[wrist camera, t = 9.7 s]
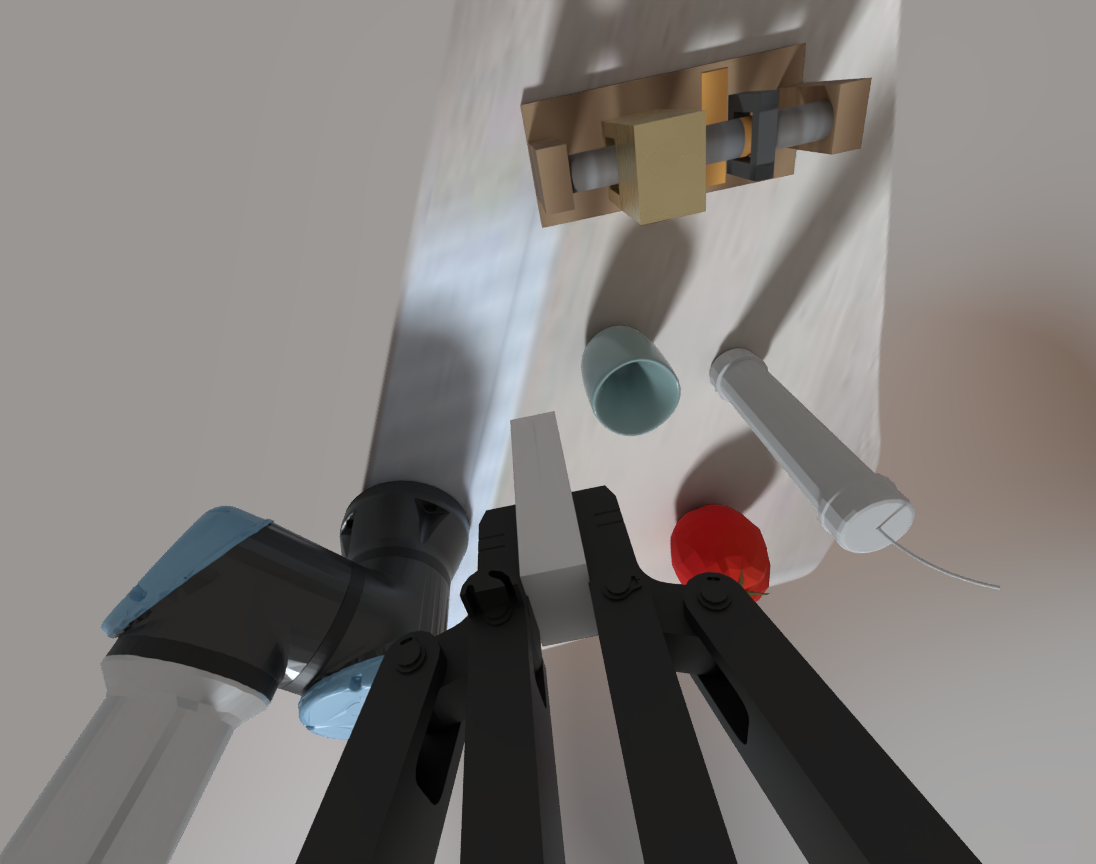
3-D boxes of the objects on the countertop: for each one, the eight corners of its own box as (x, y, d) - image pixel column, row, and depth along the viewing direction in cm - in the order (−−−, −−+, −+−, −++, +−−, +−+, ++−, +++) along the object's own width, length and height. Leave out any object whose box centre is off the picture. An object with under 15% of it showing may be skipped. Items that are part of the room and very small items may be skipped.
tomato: (644, 548, 68) (674, 633, 57) (677, 479, 61) (718, 560, 50) (719, 555, 70) (762, 639, 59) (759, 490, 64) (814, 569, 53)
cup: (615, 299, 48) (642, 340, 40) (665, 348, 51) (698, 395, 43) (560, 355, 51) (573, 403, 42) (610, 397, 54) (632, 450, 46)
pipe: (708, 350, 52) (909, 575, 27) (766, 340, 52) (1020, 556, 27) (705, 395, 55) (883, 634, 30) (760, 386, 55) (984, 617, 30)
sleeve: (608, 199, 38) (640, 225, 30) (600, 121, 35) (633, 125, 27) (659, 188, 38) (705, 211, 30) (656, 108, 35) (705, 110, 27)
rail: (541, 225, 44) (552, 252, 36) (520, 105, 38) (528, 105, 31) (787, 172, 43) (854, 187, 35) (798, 44, 38) (879, 28, 30)
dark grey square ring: (726, 173, 38) (755, 181, 33) (728, 95, 35) (760, 93, 31) (742, 170, 38) (773, 178, 33) (745, 91, 35) (779, 89, 31)
